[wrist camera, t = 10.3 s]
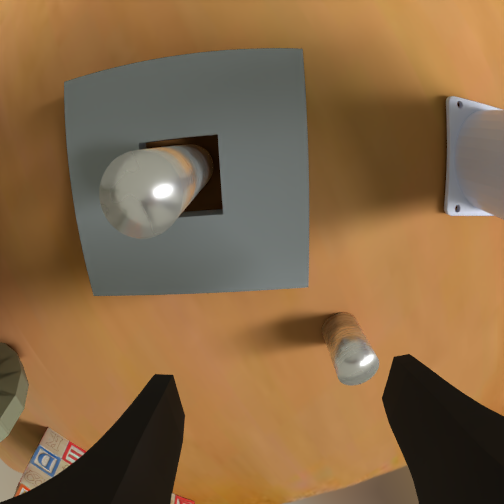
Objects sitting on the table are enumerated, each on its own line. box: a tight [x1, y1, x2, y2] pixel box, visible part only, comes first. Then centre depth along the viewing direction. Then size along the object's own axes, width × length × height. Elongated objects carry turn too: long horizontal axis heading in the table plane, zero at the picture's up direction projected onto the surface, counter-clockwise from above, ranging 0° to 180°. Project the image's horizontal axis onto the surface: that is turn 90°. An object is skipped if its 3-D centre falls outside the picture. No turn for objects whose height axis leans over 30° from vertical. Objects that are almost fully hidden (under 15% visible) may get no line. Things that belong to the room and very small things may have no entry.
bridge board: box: [64, 48, 309, 296], centre depth 16 cm, size 12×12×3 cm
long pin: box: [99, 144, 213, 239], centre depth 13 cm, size 3×3×9 cm
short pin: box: [322, 312, 379, 385], centre depth 19 cm, size 3×3×4 cm
